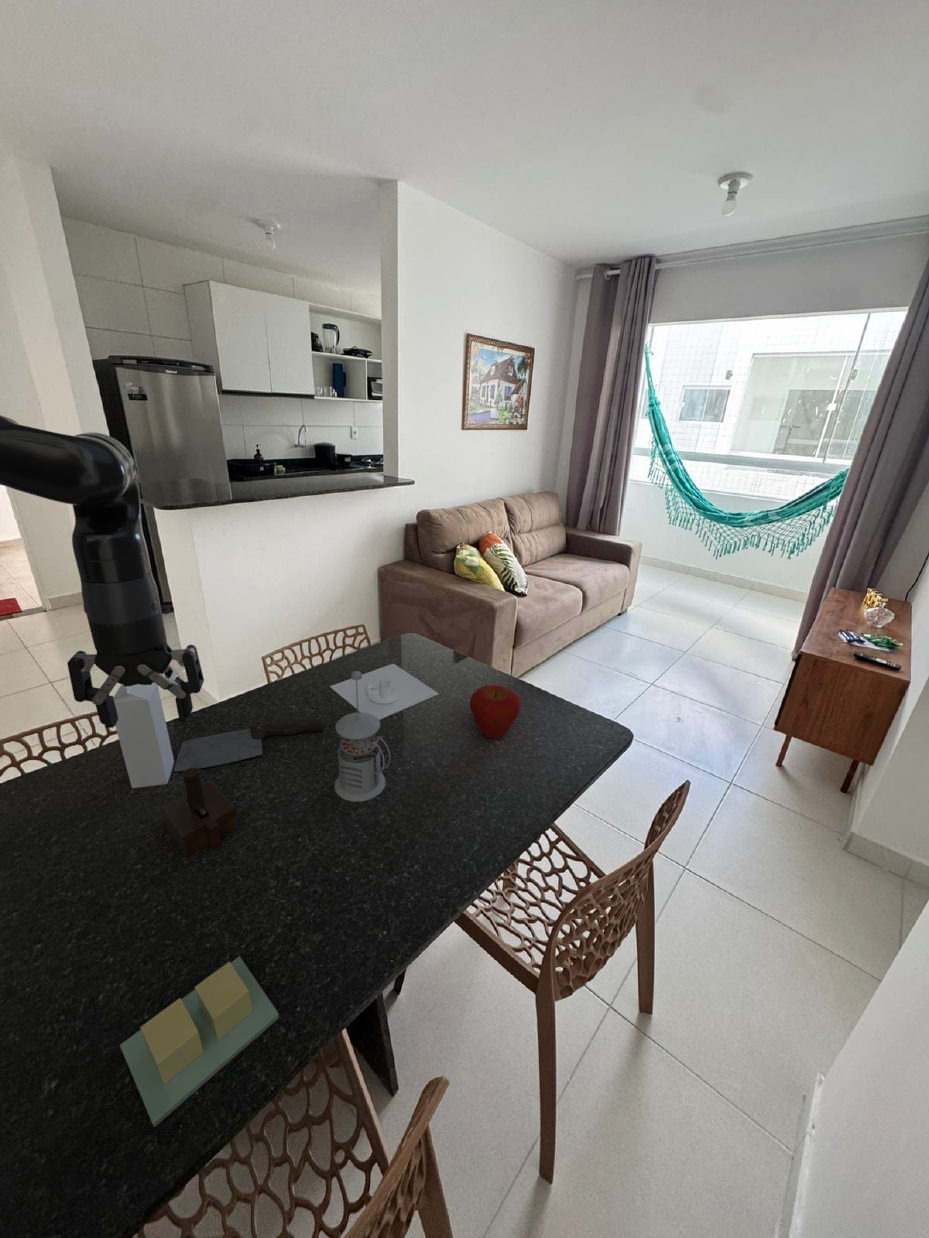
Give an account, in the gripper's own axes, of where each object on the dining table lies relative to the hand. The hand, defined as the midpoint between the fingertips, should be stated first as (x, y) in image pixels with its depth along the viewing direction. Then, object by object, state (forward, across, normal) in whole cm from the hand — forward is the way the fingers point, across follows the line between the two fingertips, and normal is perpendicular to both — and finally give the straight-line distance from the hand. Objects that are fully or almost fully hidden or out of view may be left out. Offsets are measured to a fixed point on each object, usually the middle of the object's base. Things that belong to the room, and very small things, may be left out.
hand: (149, 721), depth 68 cm
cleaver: (+28, -7, -31) cm, 43 cm away
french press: (+28, -29, -14) cm, 43 cm away
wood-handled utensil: (+28, -1, -9) cm, 30 cm away
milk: (+29, +10, -24) cm, 39 cm away
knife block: (+28, -1, -9) cm, 30 cm away
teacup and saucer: (+28, -37, -48) cm, 67 cm away
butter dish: (+28, -7, +24) cm, 38 cm away
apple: (+28, -59, -25) cm, 70 cm away
